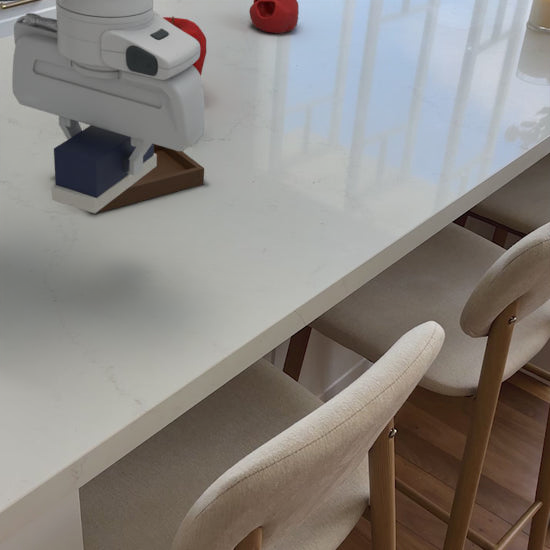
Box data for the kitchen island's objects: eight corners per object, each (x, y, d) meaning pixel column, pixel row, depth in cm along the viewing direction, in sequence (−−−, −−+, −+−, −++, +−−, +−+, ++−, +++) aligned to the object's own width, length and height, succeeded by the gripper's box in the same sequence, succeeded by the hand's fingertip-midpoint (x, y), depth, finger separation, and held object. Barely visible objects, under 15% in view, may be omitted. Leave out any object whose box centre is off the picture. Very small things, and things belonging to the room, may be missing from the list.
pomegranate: (285, 18, 181) (289, -29, 176) (306, 35, 174) (311, -13, 168) (240, 21, 177) (243, -27, 172) (259, 38, 170) (263, -11, 165)
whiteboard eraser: (94, 214, 87) (93, 163, 84) (52, 199, 88) (49, 150, 85) (156, 166, 96) (157, 119, 93) (117, 154, 98) (116, 107, 94)
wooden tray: (93, 214, 112) (92, 197, 111) (56, 178, 119) (55, 162, 117) (203, 184, 121) (204, 168, 119) (163, 152, 127) (164, 137, 126)
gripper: (-8, 17, 84) (3, 149, 91) (183, 67, 78) (178, 204, 86) (33, 0, 89) (40, 127, 96) (216, 47, 83) (208, 178, 91)
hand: (106, 164), depth 91 cm, fingers closed on whiteboard eraser, 5 cm apart
